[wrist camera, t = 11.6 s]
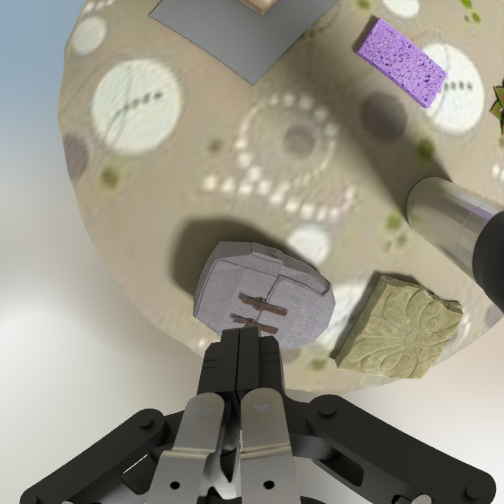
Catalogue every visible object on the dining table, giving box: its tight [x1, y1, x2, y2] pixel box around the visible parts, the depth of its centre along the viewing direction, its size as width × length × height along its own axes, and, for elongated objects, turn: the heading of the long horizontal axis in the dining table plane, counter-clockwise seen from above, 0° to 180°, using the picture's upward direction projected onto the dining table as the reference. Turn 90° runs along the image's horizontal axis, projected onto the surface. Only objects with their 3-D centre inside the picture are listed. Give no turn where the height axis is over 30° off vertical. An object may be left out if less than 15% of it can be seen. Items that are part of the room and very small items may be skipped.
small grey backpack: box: [193, 241, 335, 350], centre depth 43 cm, size 15×8×20 cm
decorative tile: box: [335, 275, 463, 379], centre depth 49 cm, size 19×20×4 cm
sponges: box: [356, 18, 448, 108], centre depth 33 cm, size 7×13×2 cm, turn 59°
